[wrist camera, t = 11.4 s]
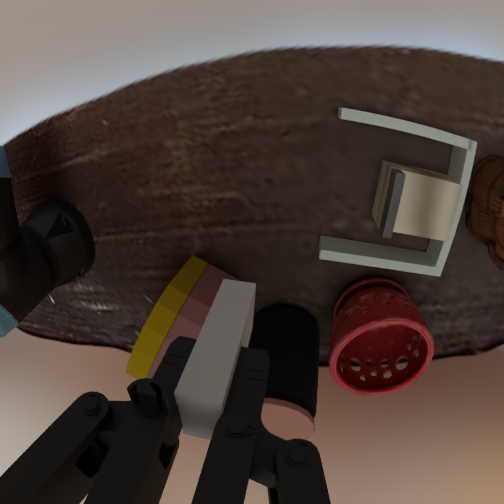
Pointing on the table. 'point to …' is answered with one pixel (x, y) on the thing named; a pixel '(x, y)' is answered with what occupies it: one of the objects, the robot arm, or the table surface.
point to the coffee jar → (288, 370)
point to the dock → (437, 249)
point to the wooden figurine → (487, 206)
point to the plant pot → (378, 337)
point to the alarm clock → (176, 314)
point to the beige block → (415, 201)
